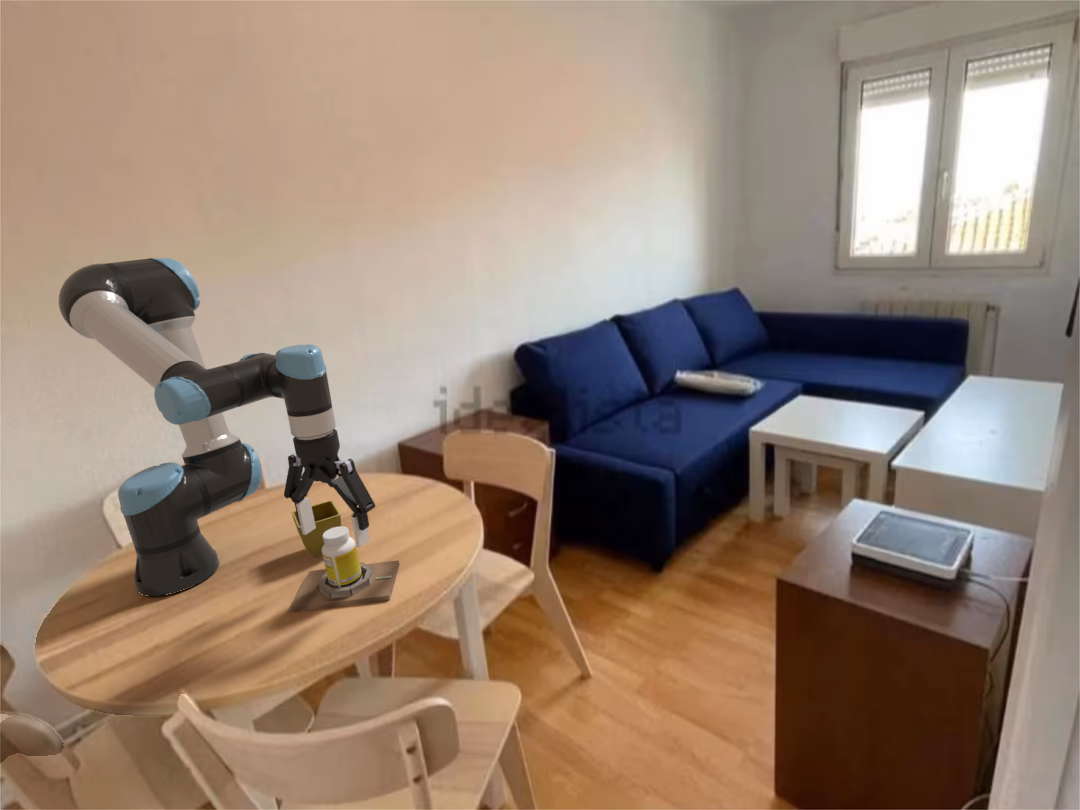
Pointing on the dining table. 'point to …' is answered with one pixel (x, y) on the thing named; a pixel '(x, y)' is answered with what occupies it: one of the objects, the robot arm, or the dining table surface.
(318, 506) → the flower pot
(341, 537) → the pill bottle
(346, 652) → the dining table surface
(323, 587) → the collar base
